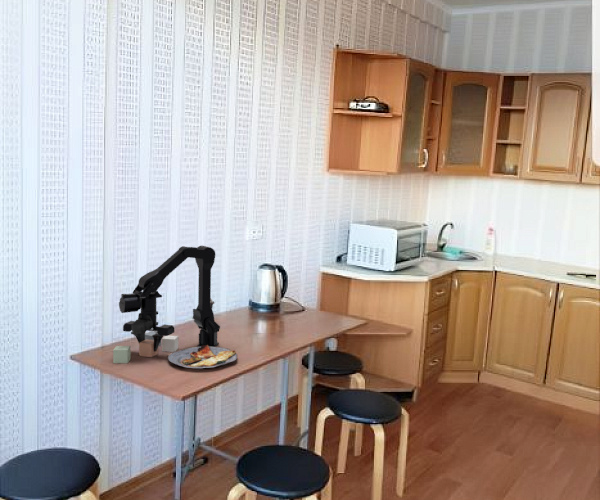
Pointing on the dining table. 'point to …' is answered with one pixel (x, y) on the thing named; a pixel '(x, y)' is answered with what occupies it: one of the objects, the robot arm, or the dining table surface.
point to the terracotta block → (147, 348)
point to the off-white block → (170, 343)
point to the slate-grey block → (150, 336)
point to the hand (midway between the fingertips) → (148, 350)
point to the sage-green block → (121, 354)
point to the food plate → (203, 357)
